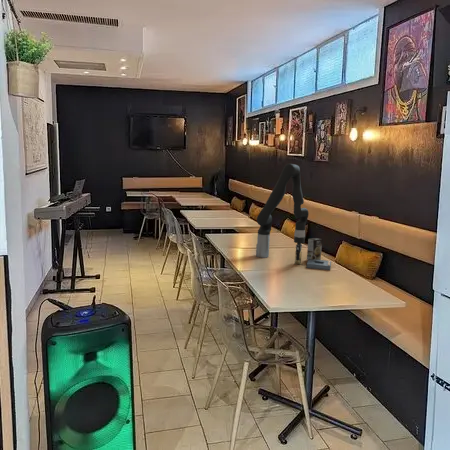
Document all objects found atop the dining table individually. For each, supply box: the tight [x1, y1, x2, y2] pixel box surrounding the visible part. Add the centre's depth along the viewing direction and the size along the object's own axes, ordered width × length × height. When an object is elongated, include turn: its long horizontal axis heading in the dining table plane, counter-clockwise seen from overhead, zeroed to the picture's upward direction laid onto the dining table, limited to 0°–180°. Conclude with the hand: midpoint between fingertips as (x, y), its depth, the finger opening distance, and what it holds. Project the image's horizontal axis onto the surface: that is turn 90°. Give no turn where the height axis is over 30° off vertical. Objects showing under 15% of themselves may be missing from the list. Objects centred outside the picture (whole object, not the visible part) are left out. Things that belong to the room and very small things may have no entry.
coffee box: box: [306, 237, 323, 261], centre depth 342 cm, size 9×6×16 cm
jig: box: [306, 259, 332, 271], centre depth 323 cm, size 16×16×4 cm
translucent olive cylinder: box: [294, 250, 303, 266], centre depth 328 cm, size 4×4×9 cm
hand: (298, 259), depth 328 cm, fingers closed on translucent olive cylinder, 4 cm apart
